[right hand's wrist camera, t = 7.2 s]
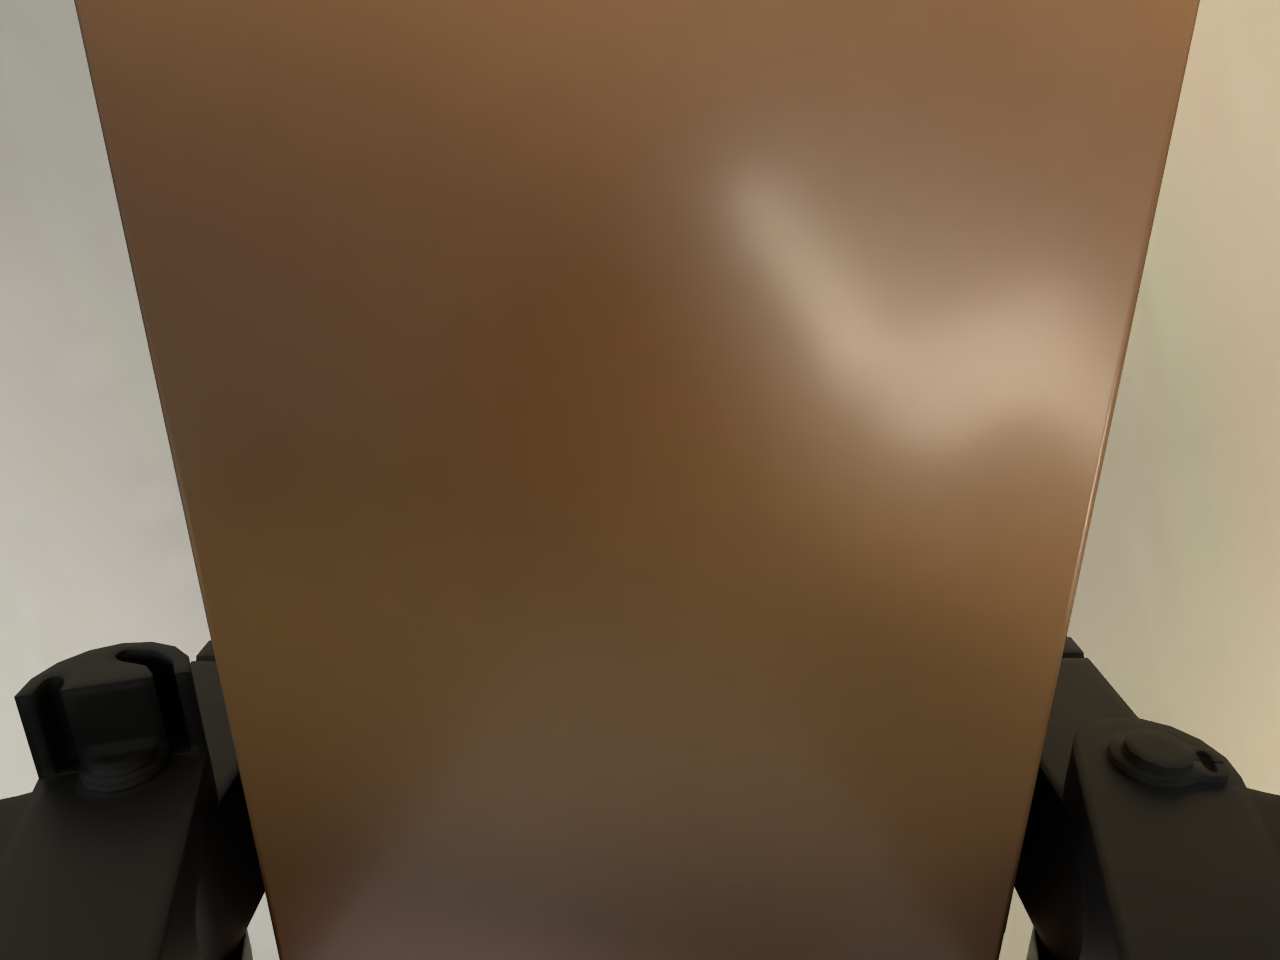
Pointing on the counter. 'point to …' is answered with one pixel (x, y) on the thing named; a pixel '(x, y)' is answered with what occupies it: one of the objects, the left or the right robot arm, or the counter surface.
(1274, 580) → the counter surface
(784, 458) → the post
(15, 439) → the counter surface
